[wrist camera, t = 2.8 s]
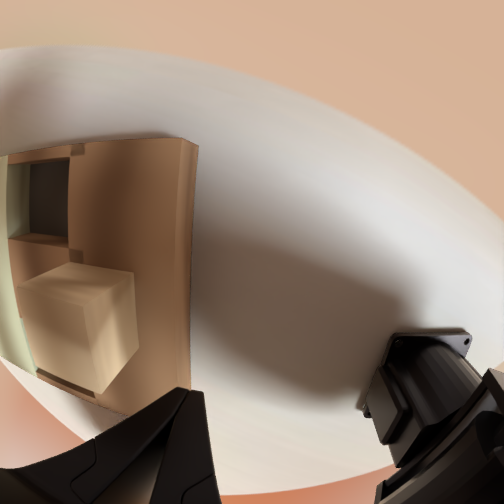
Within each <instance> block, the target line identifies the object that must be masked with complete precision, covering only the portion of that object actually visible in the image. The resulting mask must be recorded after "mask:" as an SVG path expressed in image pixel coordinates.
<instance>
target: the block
mask: <svg viewBox="0 0 504 504" xmlns="http://www.w3.org/2000/svg"><path fill="white" fill-rule="evenodd" d="M16 290H17V295H18V301H19V306H20V310H21V315H22V319H23V323H24V327H25V331H26V335H27V339H28V342H29V346H30V349H31V352H32V356H33V359H34V362H35V365H36V366H37V367H39V368H41V369H43V370H45V371H47V372H49V373H51V374H53V375H55V376H58V377H60V378H62V379H64V380H66V381H69V382H71V383H73V384H76V385H78V386H81V387H83V388H86V389H88V390H91V391H93V392H96V393H99V394H102V393H103V392H104V391H105V389H106V388H107V387H108V386H109V384H110V383H111V382H112V381H113V379H114V378H115V377H116V376H117V374H118V373H119V372H120V371H121V369H122V368H123V367H124V366H125V364H126V363H127V362H128V361H129V359H130V358H131V357H132V356H133V355H134V353H135V352H136V351H137V350H138V348H139V340H138V330H137V318H136V305H135V288H134V273H133V272H127V271H121V270H114V269H108V268H102V267H96V266H91V265H85V264H79V263H74V262H68V263H66V264H64V265H61V266H59V267H57V268H54V269H52V270H50V271H48V272H45V273H43V274H41V275H39V276H37V277H34V278H32V279H30V280H28V281H26V282H24V283H21V284H19V285H17V286H16Z"/></svg>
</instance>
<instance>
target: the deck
mask: <svg viewBox="0 0 504 504" xmlns="http://www.w3.org/2000/svg"><path fill="white" fill-rule="evenodd" d="M198 147H199V146H198V145H196V144H194V143H192V142H189V141H187V140H185V139H183V138H149V139H127V140H112V141H99V142H89V143H79V144H71V145H63V146H56V147H49V148H43V149H37V150H31V151H26V152H20V153H15V154H10V155H6V156H1V157H0V356H1V357H3V358H4V359H6V360H8V361H9V362H11V363H13V364H14V365H16V366H18V367H19V368H21V369H23V370H25V371H26V372H28V373H30V374H32V375H34V376H35V377H37V378H39V379H41V380H43V381H45V382H47V383H49V384H51V385H53V386H55V387H57V388H59V389H61V390H64V391H66V392H68V393H70V394H72V395H75V396H77V397H79V398H82V399H84V400H86V401H89V402H91V403H94V404H96V405H99V406H102V407H104V408H107V409H110V410H112V411H115V412H118V413H121V414H124V415H127V416H131V415H133V414H135V413H136V412H138V411H139V410H141V409H143V408H144V407H146V406H147V405H149V404H151V403H152V402H154V401H155V400H157V399H158V398H160V397H161V396H163V395H165V394H166V393H168V392H169V391H171V390H172V389H174V388H175V387H182V388H187V389H189V390H191V370H190V275H191V246H192V225H193V208H194V194H195V180H196V168H197V157H198ZM68 262H74V263H79V264H85V265H91V266H96V267H102V268H108V269H114V270H121V271H127V272H133V273H134V288H135V305H136V318H137V330H138V340H139V348H138V350H137V351H136V352H135V353H134V355H133V356H132V357H131V358H130V359H129V361H128V362H127V363H126V364H125V366H124V367H123V368H122V369H121V371H120V372H119V373H118V374H117V376H116V377H115V378H114V379H113V381H112V382H111V383H110V384H109V386H108V387H107V388H106V389H105V391H104V392H103V393H102V394H99V393H96V392H93V391H91V390H88V389H86V388H83V387H81V386H78V385H76V384H73V383H71V382H69V381H66V380H64V379H62V378H60V377H58V376H55V375H53V374H51V373H49V372H47V371H45V370H43V369H41V368H39V367H37V366H36V365H35V362H34V359H33V356H32V352H31V349H30V346H29V342H28V339H27V335H26V331H25V327H24V323H23V319H22V315H21V310H20V306H19V301H18V295H17V290H16V286H17V285H19V284H21V283H24V282H26V281H28V280H30V279H32V278H34V277H37V276H39V275H41V274H43V273H45V272H48V271H50V270H52V269H54V268H57V267H59V266H61V265H64V264H66V263H68Z"/></svg>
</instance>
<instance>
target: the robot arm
mask: <svg viewBox="0 0 504 504" xmlns="http://www.w3.org/2000/svg"><path fill="white" fill-rule="evenodd" d="M398 340H400V342H399V343H397V344H395V343H396V341H398ZM471 342H472V336H471V335H470V334H469V333H468V332H451V333H395V334H393V335H392V336H391V337H390V339H389V342H388V345H387V348H386V351H385V354H384V357H383V360H382V363H381V365H380V366H379V367H378V368H377V370H376V373H375V376H374V378H373V381H372V384H371V386H370V389H369V391H368V394H367V396H366V403H365V406H364V408H363V415H364V417H365V418H372V419H373V422H374V425H375V428H376V431H377V434H378V437H379V440H380V443H381V444H382V445H388V446H389V449H390V452H391V455H392V458H393V461H394V464H395V467H396V468H401V469H400V470H399V471H397V472H396V473H395V474H393V475H392V476H391V477H390V478H388V479H387V480H384V481H382V482H381V483H380V484H379V485H377V489H376V496H375V502H374V504H504V373H502V372H500V371H497V370H494V369H491V368H488V370H487V371H486V373H485V374H484V376H483V377H482V376H481V375H480V374H479V373H478V372H477V371H476V370H475V368H474V367H473V366H472V365H471V364H470V363H469V362H468V361H467V360H466V358H465V356H466V354H467V352H468V349H469V347H470V344H471ZM369 411H370V412H369ZM0 504H222V502H221V499H220V494H219V490H218V486H217V480H216V476H215V469H214V463H213V457H212V451H211V444H210V437H209V430H208V423H207V415H206V407H205V399H204V393H203V392H202V391H197V390H189V389H187V388H182V387H175V388H174V389H172V390H171V391H169V392H168V393H166V394H165V395H163V396H161V397H160V398H158V399H157V400H155V401H154V402H152V403H151V404H149V405H147V406H146V407H144V408H143V409H141V410H139V411H138V412H136V413H135V414H133V415H131V416H130V417H128V418H126V419H125V420H123V421H122V422H120V423H118V424H116V425H115V426H113V427H111V428H110V429H108V430H106V431H105V432H103V433H101V434H99V435H98V436H96V437H95V439H94V438H92V439H90V440H89V441H87V442H85V443H83V444H81V445H79V446H77V447H75V448H73V449H71V450H69V451H67V452H64V453H62V454H59V455H57V456H54V457H51V458H48V459H46V460H43V461H40V462H37V463H34V464H31V465H28V466H25V467H20V468H15V469H5V468H0Z"/></svg>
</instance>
